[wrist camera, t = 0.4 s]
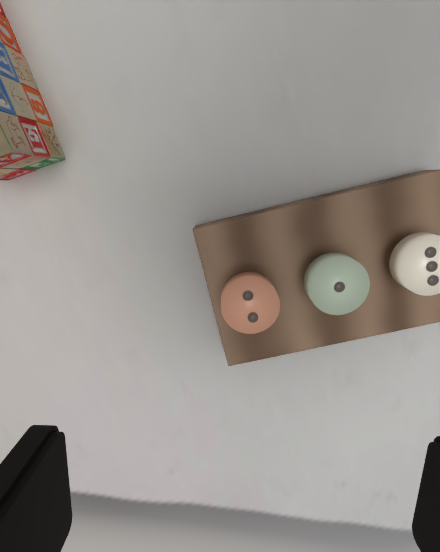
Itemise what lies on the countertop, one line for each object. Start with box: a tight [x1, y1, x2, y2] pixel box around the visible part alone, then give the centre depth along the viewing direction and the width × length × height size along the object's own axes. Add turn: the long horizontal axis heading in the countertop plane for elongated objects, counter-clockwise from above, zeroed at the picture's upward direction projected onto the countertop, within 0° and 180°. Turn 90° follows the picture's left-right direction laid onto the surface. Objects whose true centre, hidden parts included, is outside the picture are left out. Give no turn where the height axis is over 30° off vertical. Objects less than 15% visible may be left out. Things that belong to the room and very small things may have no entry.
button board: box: [193, 170, 440, 366], centre depth 34 cm, size 22×14×3 cm, turn 104°
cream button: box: [389, 232, 440, 296], centre depth 30 cm, size 5×5×2 cm
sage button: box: [304, 252, 370, 315], centre depth 30 cm, size 5×5×2 cm
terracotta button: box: [221, 272, 280, 334], centre depth 31 cm, size 5×5×2 cm
